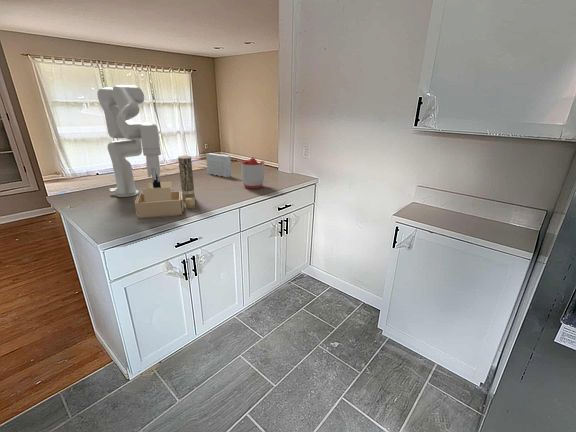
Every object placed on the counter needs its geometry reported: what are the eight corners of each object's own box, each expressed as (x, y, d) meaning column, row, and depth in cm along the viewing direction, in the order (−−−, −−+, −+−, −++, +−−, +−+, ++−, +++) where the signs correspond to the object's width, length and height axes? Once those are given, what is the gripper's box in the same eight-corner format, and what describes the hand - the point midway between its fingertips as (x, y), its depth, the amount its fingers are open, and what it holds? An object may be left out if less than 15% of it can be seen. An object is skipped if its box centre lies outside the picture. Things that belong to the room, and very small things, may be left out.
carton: (136, 219, 143) (134, 203, 140) (140, 208, 157) (138, 193, 154) (183, 214, 149) (182, 199, 147) (183, 204, 164) (181, 190, 161)
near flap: (144, 202, 141) (142, 188, 138) (145, 201, 141) (143, 188, 139) (171, 200, 144) (170, 187, 142) (171, 199, 145) (170, 186, 143)
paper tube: (190, 196, 177) (186, 155, 168) (197, 199, 173) (193, 156, 164) (180, 199, 172) (175, 156, 163) (187, 202, 168) (182, 158, 159)
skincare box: (231, 176, 226) (230, 155, 220) (226, 177, 222) (225, 156, 216) (212, 172, 236) (210, 152, 230) (206, 173, 232) (205, 153, 226)
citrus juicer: (269, 185, 206) (270, 156, 199) (257, 191, 191) (257, 160, 184) (250, 182, 212) (250, 154, 205) (237, 187, 197) (236, 158, 190)
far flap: (172, 190, 160) (171, 181, 163) (172, 190, 159) (171, 181, 163) (148, 192, 156) (148, 183, 159) (148, 191, 155) (148, 182, 159)
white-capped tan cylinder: (186, 209, 157) (185, 200, 156) (185, 206, 162) (185, 197, 160) (195, 208, 159) (194, 199, 157) (195, 205, 163) (194, 196, 161)
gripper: (144, 149, 142) (150, 186, 148) (141, 154, 128) (147, 194, 135) (161, 149, 144) (166, 185, 150) (159, 153, 131) (165, 193, 137)
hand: (157, 189), depth 143 cm, fingers closed
